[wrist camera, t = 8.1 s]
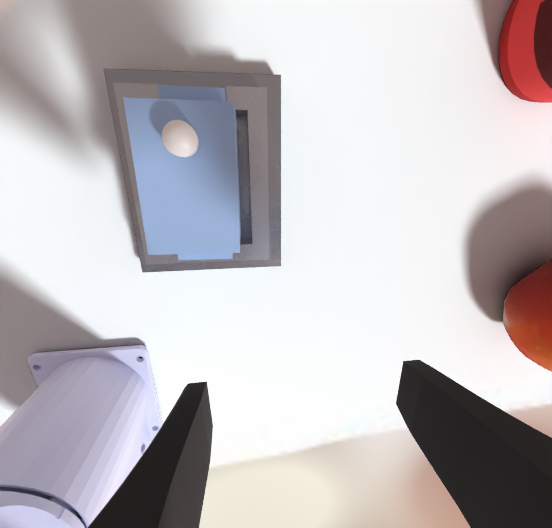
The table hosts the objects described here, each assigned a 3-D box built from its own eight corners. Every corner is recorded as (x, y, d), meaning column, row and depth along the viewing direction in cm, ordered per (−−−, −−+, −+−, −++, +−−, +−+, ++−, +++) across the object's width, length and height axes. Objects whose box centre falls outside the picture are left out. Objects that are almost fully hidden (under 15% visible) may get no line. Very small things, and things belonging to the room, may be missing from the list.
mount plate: (278, 261, 19) (283, 273, 16) (147, 267, 18) (133, 281, 15) (278, 81, 15) (284, 63, 13) (113, 75, 14) (86, 55, 12)
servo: (241, 248, 17) (240, 284, 11) (178, 249, 16) (145, 287, 11) (236, 100, 14) (232, 55, 9) (160, 97, 14) (105, 47, 8)
